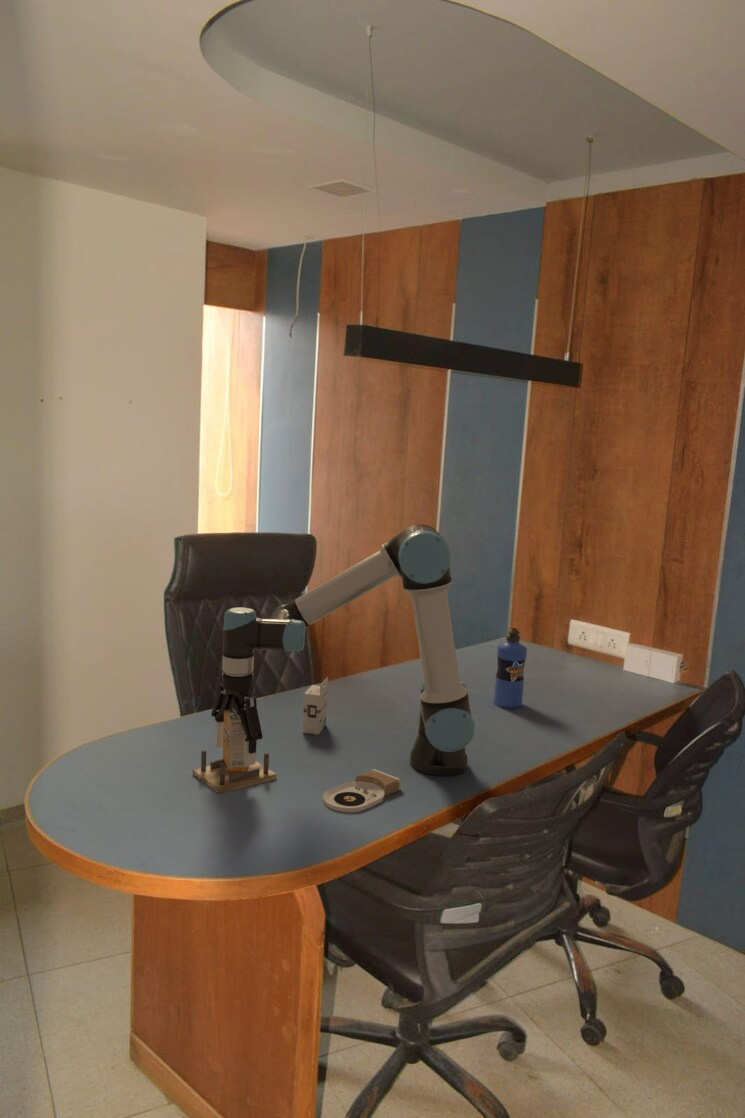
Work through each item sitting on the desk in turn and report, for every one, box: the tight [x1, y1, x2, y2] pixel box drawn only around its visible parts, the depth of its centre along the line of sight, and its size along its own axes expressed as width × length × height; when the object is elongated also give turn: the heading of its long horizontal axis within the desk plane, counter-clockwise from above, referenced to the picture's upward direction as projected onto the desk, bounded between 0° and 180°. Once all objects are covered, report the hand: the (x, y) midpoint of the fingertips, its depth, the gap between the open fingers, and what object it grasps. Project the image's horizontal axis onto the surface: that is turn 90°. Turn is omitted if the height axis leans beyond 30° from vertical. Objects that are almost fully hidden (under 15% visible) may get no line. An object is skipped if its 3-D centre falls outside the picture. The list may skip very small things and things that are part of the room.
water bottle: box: [493, 627, 528, 710], centre depth 284 cm, size 9×9×25 cm
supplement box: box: [222, 709, 248, 772], centre depth 217 cm, size 8×5×13 cm, turn 21°
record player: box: [322, 768, 402, 813], centre depth 211 cm, size 12×3×20 cm
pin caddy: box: [192, 750, 277, 794], centre depth 218 cm, size 13×16×6 cm
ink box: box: [302, 676, 329, 735], centre depth 253 cm, size 9×5×15 cm, turn 168°
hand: (235, 755), depth 218 cm, fingers open, 13 cm apart
